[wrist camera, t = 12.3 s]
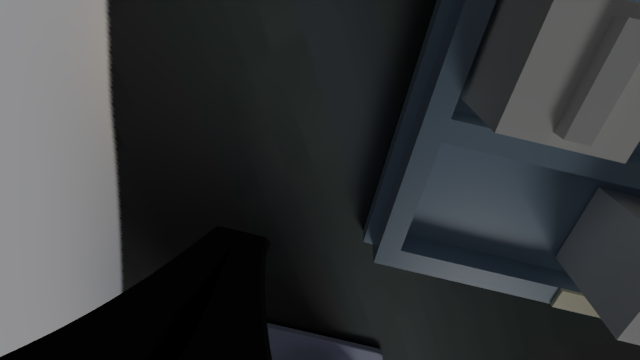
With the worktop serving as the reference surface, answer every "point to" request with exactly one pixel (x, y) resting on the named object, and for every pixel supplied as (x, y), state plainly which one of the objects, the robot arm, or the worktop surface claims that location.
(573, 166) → the dark blue tray
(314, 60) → the worktop surface
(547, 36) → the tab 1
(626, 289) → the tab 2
